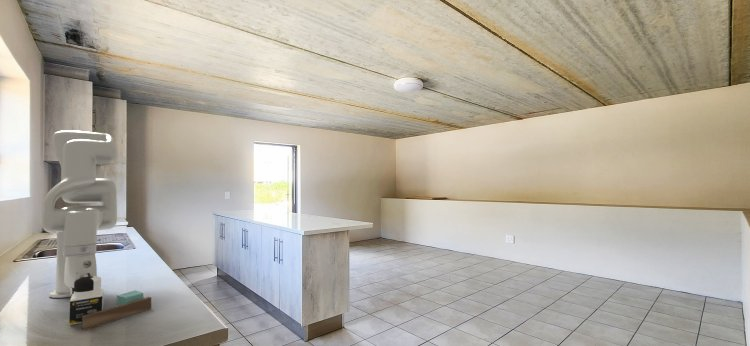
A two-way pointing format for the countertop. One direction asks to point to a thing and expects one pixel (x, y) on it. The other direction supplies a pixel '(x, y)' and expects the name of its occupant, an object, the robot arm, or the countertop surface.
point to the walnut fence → (115, 313)
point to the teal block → (129, 297)
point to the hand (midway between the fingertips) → (78, 309)
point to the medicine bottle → (85, 298)
